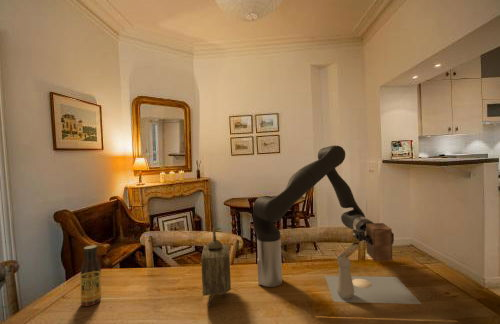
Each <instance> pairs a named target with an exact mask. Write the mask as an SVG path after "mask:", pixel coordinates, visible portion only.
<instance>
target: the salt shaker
mask: <svg viewBox="0 0 500 324" xmlns="http://www.w3.org/2000/svg"><path fill="white" fill-rule="evenodd" d="M337 265H338V267H339V268H338V275H337V276H338V280H337V287H336V289H337V292H338V295H339V296H340V297H341V298H342V299H348V300H349V299H350V298H352V296H353V294H354V287H353V282H352V278H351V276H352V273H351V269H350V268H351V266H352V262H351V259H350V258H348V257H345V256H343V257H342V256H341V257H339V258H337Z"/></svg>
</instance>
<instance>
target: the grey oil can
mask: <svg viewBox="0 0 500 324" xmlns="http://www.w3.org/2000/svg"><path fill="white" fill-rule="evenodd" d="M231 283H232V282H231V259H230V245H228V244H225V243H222V242H221V241H220V240H218V239H217V234H216V227H215V226H213V228H212V240H211V241H209V243H208V244H207V245H203V248H202V252H201V286H202V295H203V296H210V299H209V301H208V302H207V303H206V306H207V308H211V307H212V306H213V303H212V301H213V299H214V296H215V295H221V297H222V298H225V297H226V296H227V293H229V292H230V291H231V289H232V286H231V285H232V284H231Z"/></svg>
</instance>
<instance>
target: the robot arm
mask: <svg viewBox="0 0 500 324" xmlns="http://www.w3.org/2000/svg"><path fill="white" fill-rule="evenodd" d="M345 159H346V151H345V148H343V147H342V146H341V145H330V146H326V147H325V146H324V147H323V148H320V149H319V150H318V152H317V160H315V161H312V162H310V163H309V164H306V165H304V166H302V167H301V168H300V169H299V170H297V171H296V172H295V173H294V174H292V175H291V176H290V178H289V179H288V182H287V185H286V187H285V189H284V190H283V191H282V192H280V193H279V194H278V195H275V196H274V197H270V196H265V195H264V196H259V197H258V198H256V200H255V201H254V204H253V207H252V209H253V210H252V215H253V218H252V219H253V227H254V232H255V234H256V244H257V247H256V249H257V261H256V262H257V264H256V265H257V285H258V284H259V285H258V286H264V287H267V288H275V287H279V286H280V285H281V284H282V283H283V267H282V266H283V264H282V243H281V242H282V241H281V231H280V229H279V228H278V227H277V226H276V224H275V223H276V222H278V221H280V220H281V219H282V218H283V217H284V216H285V214H287V212H288V211H289V210H290V209H291V207H292V206H294V205H295V204H296V203H297V202H298V201H299V200H300V199H301V198H302V197H303V196H305V195H306V193H308V192H309V191H310V190H312V189H313V187H315V186H316V185H317V184H318V183H319V182H320V181H321V180H322V179H323V178H324V177H327V178H328V181H329V182H330V184H331V187H332V188H333V189H334V192H335V195H336V198H337V200H338V203H339V205H340V207H341V208H343V209H349V208H350V209H351V210H348V211H346V212H343V213H342V214H341V217H340V220H341V222H342V224H343V225H344V226H345V227H346V228H347V229H351V230H352V237H353V238H355V239H356V240H357V241H359V242H363V241H364V243H366V244H367V243H368V244H370V245H373V242H372V238H371V237H370V236H368V234H367V233H366V223H374V222H373V221H372V220H370V219H369V218H367V217H366V214H365V212H363V210H362V209H361V207H360V206H359V205H358V203H357V202H356V198H355V197H354V194H353V192H352V189H351V187H350V186H349V184H348V183H347V182H346V181H345V179H343V178H342V176H341V175H340V174H339V172H338V171H337V170H336V168H337V167H339V166H341V165H342V163H344V161H345ZM394 235H395V234H394V232H392V246H393V244H394V242H395V236H394Z"/></svg>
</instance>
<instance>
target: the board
mask: <svg viewBox="0 0 500 324" xmlns="http://www.w3.org/2000/svg"><path fill="white" fill-rule="evenodd" d="M324 278H325V280H326V284H327V287H328V289H329V291H330V296H331V298H332V299H333V302H334V303H361V304H362V303H363V304H365V303H366V304H369V303H370V304H400V305H402V304H405V305H407V304H408V305H409V304H410V305H411V304H412V305H422V303H421V301H419V300H418V298H417V297H416V296H415V295H414V294H413V293H412V292H411V290H410V289H408V287H406V286H405V284H404V283H403V282H401V280H400V279H399V278H398V277H397V276H369V275H368V276H367V275H366V276H363V275H358V276H357V275H356V276H355V275H351V278H352V282H353V287H354V294H353V296H352V298H350V299H349V300H348V299H342V298H341V297H340V296H339V295H338V292H337V289H336V287H337V280H338V275H324Z"/></svg>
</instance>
